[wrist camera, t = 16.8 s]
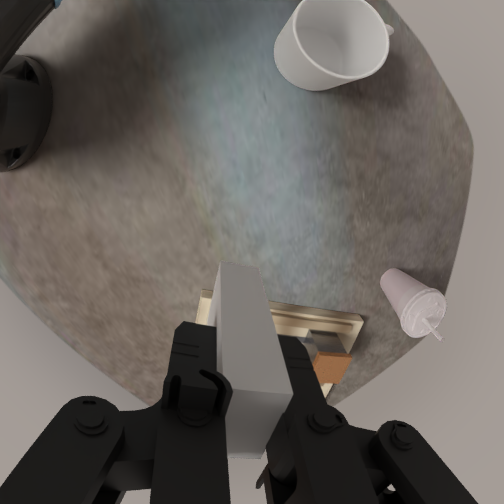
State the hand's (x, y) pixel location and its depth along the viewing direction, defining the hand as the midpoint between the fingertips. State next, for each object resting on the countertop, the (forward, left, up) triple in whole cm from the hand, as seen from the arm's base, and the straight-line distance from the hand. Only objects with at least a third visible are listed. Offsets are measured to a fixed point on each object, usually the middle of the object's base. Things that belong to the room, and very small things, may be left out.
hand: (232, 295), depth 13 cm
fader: (+16, -17, -22) cm, 32 cm away
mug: (+7, +18, -25) cm, 31 cm away
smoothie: (+25, -7, -25) cm, 36 cm away
